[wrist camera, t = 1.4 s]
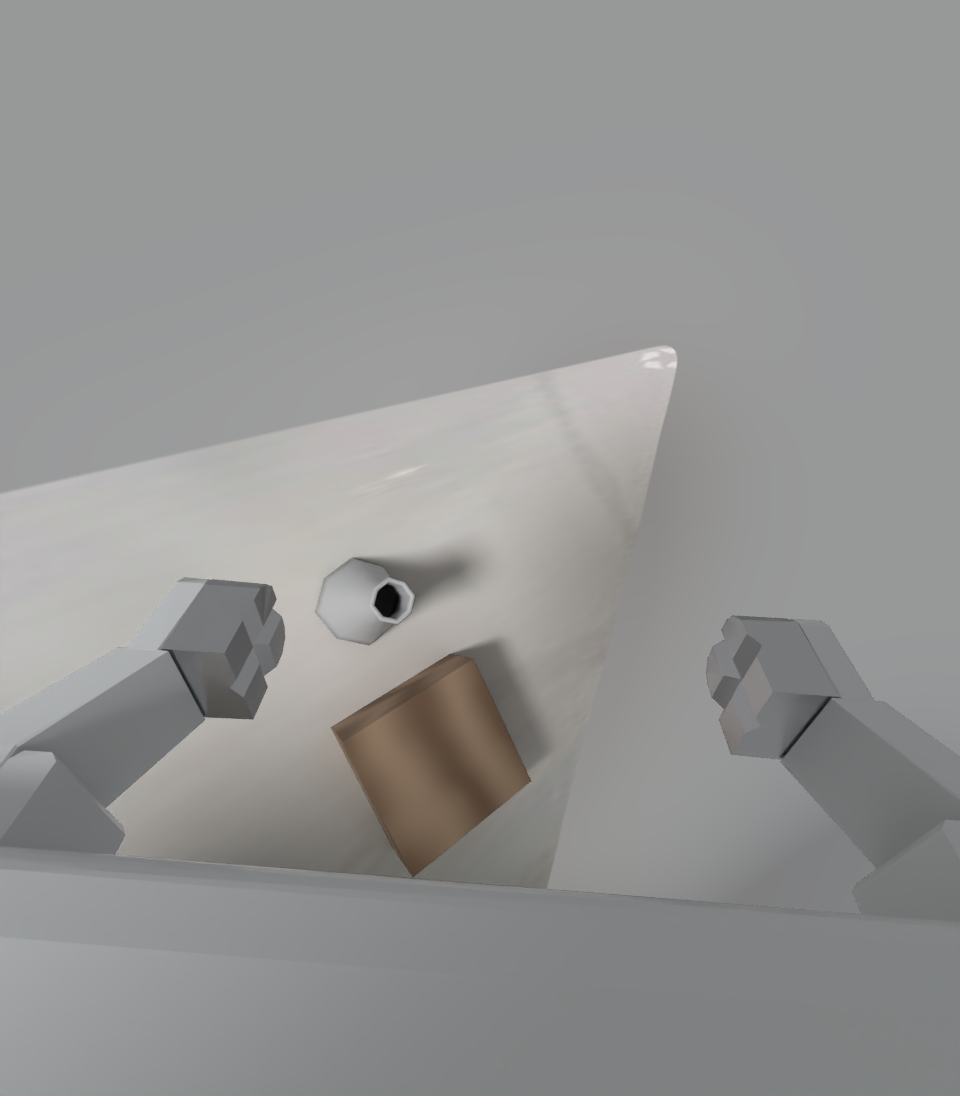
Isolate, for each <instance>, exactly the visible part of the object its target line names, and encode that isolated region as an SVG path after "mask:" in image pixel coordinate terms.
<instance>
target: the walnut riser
mask: <svg viewBox="0 0 960 1096" xmlns="http://www.w3.org/2000/svg"><path fill="white" fill-rule="evenodd" d="M331 729H332V731H333V732H334V734H335V736H336V738H337V740H338V742H339V744H340V746H341V748H342V750H343V752H344V754H345V756H346V758H347V760H348V762H349V764H350V765H351V767H352V769H353V771H354V773H355V775H356V777H357V779H358V781H359V783H360V785H361V787H362V789H363V791H364V793H365V795H366V797H367V798H368V800H369V802H370V804H371V806H372V808H373V810H374V812H375V814H376V816H377V818H378V820H379V822H380V824H381V826H382V828H383V830H384V832H385V833H386V835H387V837H388V839H389V841H390V843H391V845H392V847H393V849H394V851H395V852H396V854H397V855H398V856H399V858H400V859H401V861H402V862H403V864H404V865H405V867H406V868H407V869H408V871H409V872H410V874H411V875H412V877H414V876H415V875H416V874H418V873H419V872H420V871H421V870H423V869H424V868H425V867H426V866H427V865H429V864H430V863H431V862H432V861H434V860H435V859H436V858H437V857H439V856H440V855H441V854H442V853H443V852H445V851H446V850H447V849H448V848H450V847H451V846H452V845H453V844H454V843H456V842H457V841H458V840H459V839H461V838H462V837H463V836H464V835H466V834H467V833H468V832H469V831H470V830H472V829H473V828H474V827H475V826H477V825H478V824H479V823H480V822H481V821H483V820H484V819H485V818H486V817H488V816H489V815H490V814H491V813H493V812H494V811H495V810H496V809H497V808H499V807H500V806H501V805H502V804H504V803H505V802H506V801H507V800H508V799H510V798H511V797H512V796H513V795H515V794H516V793H517V792H518V791H520V790H521V789H522V788H523V787H524V786H526V785H527V784H528V783H529V782H531V780H530V777H529V775H528V773H527V771H526V769H525V767H524V765H523V763H522V761H521V758H520V756H519V754H518V752H517V750H516V748H515V746H514V744H513V742H512V739H511V737H510V735H509V733H508V731H507V729H506V727H505V725H504V723H503V720H502V718H501V716H500V714H499V712H498V710H497V708H496V706H495V704H494V701H493V699H492V697H491V695H490V693H489V691H488V689H487V687H486V685H485V682H484V680H483V678H482V676H481V674H480V672H479V670H478V668H477V666H476V663H475V661H474V659H471V658H467V657H462V656H458V655H453V654H449V655H448V656H446V657H444V658H443V659H441V660H440V661H438V662H436V663H435V664H433V665H431V666H430V667H428V668H427V669H425V670H423V671H422V672H420V673H418V674H417V675H415V676H414V677H412V678H410V679H409V680H407V681H406V682H404V683H402V684H401V685H399V686H397V687H396V688H394V689H393V690H391V691H389V692H388V693H386V694H384V695H383V696H381V697H380V698H378V699H376V700H375V701H373V702H372V703H370V704H368V705H367V706H365V707H363V708H362V709H360V710H359V711H357V712H355V713H354V714H352V715H350V716H349V717H347V718H346V719H344V720H342V721H341V722H339V723H338V724H336V725H334V726H333V727H331Z"/></svg>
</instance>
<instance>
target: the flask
mask: <svg viewBox="0 0 960 1096" xmlns="http://www.w3.org/2000/svg"><path fill="white" fill-rule="evenodd" d="M415 596H416V595H415V594H414V593H413V591H412V590H411V589H410V587H409V586H408V585H407V584H406V582H405V581H401V580H398V579H394V578H391V577H390V575H389V574H388V573H387V572H386V570H385V569H384V568H383V567H382V566H378V565H375V564H371V563H368V562H364V561H360V560H357V559H353V558H351V559H349V560H348V561H347V562H345V563H344V564H343V565H341V566H340V567H339V568H338V569H336V570H335V571H334V572H332V573H331V574H330V575H328V576H327V577H326V578H324V582H323V585H322V589H321V592H320V596H319V599H318V603H317V606H316V610H315V613H316V614H317V615H318V616H319V617H320V619H321V620H322V621H323V622H324V624H325V625H326V626H327V627H328V628H329V630H330V631H331V632H332V633H333V635H334V636H335V637H336V638H338V639H342V640H347V641H352V642H356V643H361V644H366V645H370V644H371V643H372V642H374V641H375V640H376V639H377V638H378V637H379V636H381V635H382V634H383V633H384V632H385V631H386V630H387V629H389V628H390V627H391V626H392V625H393V624H396V625H398V624H399V623H400V622H401V621H403V620H404V619H405V618H406V617H407V616H408V615H410V614H411V613H412V608H413V604H414V600H415Z"/></svg>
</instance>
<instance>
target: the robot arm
mask: <svg viewBox="0 0 960 1096" xmlns="http://www.w3.org/2000/svg"><path fill="white" fill-rule="evenodd" d="M276 600H277V599H276V596H275V593H274V591H273V588H272V586H269V585H267V584H258V583H247V582H236V581H225V580H214V579H212V580H209V579H198V578H187V577H185V578H183V579H181V580H179V581H177V582H176V583H175V584H174V586H173V587H172V588H171V590H170V591H169V592H168V594H167V595H166V596H165V598H164V599H163V600H162V602H161V603H160V604H159V606H158V607H157V608H156V610H155V611H154V612H153V614H152V615H151V616H150V618H149V619H148V620H147V622H146V623H145V624H144V626H143V627H142V628H141V630H140V631H139V632H138V634H137V635H136V637H135V638H134V639H133V641H132V642H131V643H130V645H129V646H128V647H127V648H122V647H118V648H116V649H115V650H113V651H111V652H109V653H108V654H106V655H104V656H102V657H101V658H99V659H97V660H95V661H94V662H92V663H90V664H88V665H87V666H85V667H83V668H81V669H80V670H78V671H76V672H74V673H73V674H71V675H69V676H67V677H66V678H64V679H62V680H60V681H59V682H57V683H55V684H53V685H52V686H50V687H48V688H46V689H45V690H43V691H41V692H39V693H38V694H36V695H34V696H32V697H31V698H29V699H27V700H25V701H24V702H22V703H20V704H19V705H17V706H15V707H13V708H12V709H10V710H8V711H6V712H5V713H3V714H1V715H0V1096H960V756H958V755H957V754H956V753H954V752H953V751H951V750H950V749H949V748H947V747H946V746H945V745H943V744H942V743H941V742H939V741H938V740H936V739H935V738H934V737H932V736H931V735H930V734H928V733H927V732H925V731H924V730H923V729H921V728H920V727H919V726H917V725H916V724H915V723H913V722H912V721H910V720H909V719H908V718H906V717H905V716H904V715H902V714H901V713H899V712H898V711H897V710H895V709H894V708H893V707H891V706H890V705H888V704H887V703H886V702H881V701H875V700H874V698H873V697H872V696H871V693H870V692H869V690H868V688H867V687H866V686H865V684H864V682H863V680H862V679H861V677H860V676H859V674H858V672H857V671H856V669H855V667H854V666H853V664H852V663H851V661H850V659H849V658H848V656H847V654H846V653H845V651H844V650H843V648H842V646H841V645H840V643H839V642H838V640H837V638H836V637H835V635H834V634H833V632H832V630H831V629H830V627H829V626H828V625H827V624H825V623H824V622H822V621H816V620H799V619H790V620H789V619H783V618H766V617H749V616H731V617H730V618H729V619H727V620H726V622H725V624H724V626H723V628H722V633H723V635H724V638H725V640H723V641H721V642H720V643H718V644H716V645H715V646H713V648H712V650H711V652H710V654H709V657H708V660H707V671H706V676H707V683H708V687H709V690H710V693H711V696H712V698H713V699H714V700H715V701H716V702H717V703H718V704H719V705H720V706H721V707H722V708H724V711H723V713H722V715H721V717H720V719H719V721H720V724H721V727H722V729H723V733H724V736H725V739H726V741H727V744H728V747H729V750H730V753H731V755H741V756H751V757H761V758H771V759H781V763H782V764H783V765H784V766H785V768H786V769H787V770H788V771H789V772H790V773H791V774H792V775H793V776H794V777H795V779H796V780H797V781H798V782H799V783H800V784H801V785H802V786H803V787H804V789H805V790H806V791H807V792H808V793H809V794H810V795H811V796H812V797H813V799H814V800H815V801H816V802H817V803H818V804H819V805H820V806H821V807H822V808H823V810H824V811H825V812H826V813H827V814H828V815H829V816H830V817H831V818H832V820H833V821H834V822H835V823H836V824H837V825H838V826H839V827H840V828H841V830H842V831H843V832H844V833H845V834H846V835H847V836H848V837H849V838H850V839H851V841H852V842H853V843H854V844H855V845H856V846H857V847H858V848H859V850H861V852H862V853H863V854H864V855H865V856H866V857H867V858H868V860H869V861H870V862H871V863H872V864H873V865H874V866H875V867H876V868H877V869H875V870H874V871H873V872H871V873H870V874H869V875H867V876H866V877H864V878H863V879H861V880H860V881H859V882H857V883H856V885H855V887H854V888H853V890H852V893H853V895H854V898H855V900H856V903H857V905H858V908H859V910H860V912H861V914H855V913H842V912H829V911H816V910H804V909H791V908H778V907H767V906H754V905H741V904H729V903H716V902H703V901H691V900H678V899H665V898H653V897H641V896H628V895H615V894H602V893H589V892H578V891H565V890H552V889H540V888H527V887H515V886H502V885H489V884H477V883H464V882H452V881H439V880H426V879H414V878H401V877H389V876H376V875H363V874H351V873H338V872H325V871H313V870H300V869H287V868H275V867H262V866H249V865H237V864H224V863H211V862H199V861H186V860H173V859H161V858H148V857H135V856H122V855H115V853H116V852H117V850H118V848H119V846H120V844H121V842H122V840H123V838H124V837H125V832H124V828H123V826H122V825H121V824H120V823H119V822H118V821H117V820H116V819H115V817H114V816H113V815H112V814H111V813H110V812H109V811H108V810H107V809H106V807H107V806H108V805H110V804H111V803H112V802H113V801H114V800H115V799H116V798H117V797H119V796H120V795H121V794H122V793H123V792H124V791H125V790H126V789H128V788H129V787H130V786H131V785H132V784H133V783H134V782H136V781H137V780H138V779H139V778H140V777H141V776H142V775H143V774H145V773H146V772H147V771H148V770H149V769H150V768H151V767H152V766H154V765H155V764H156V763H157V762H158V761H159V760H160V759H162V758H163V757H164V756H165V755H166V754H167V753H168V752H169V751H171V750H172V749H173V748H174V747H175V746H176V745H177V744H178V743H180V742H181V741H182V740H183V739H184V738H185V737H186V736H188V735H189V734H190V733H191V732H192V731H193V730H194V729H195V728H197V727H198V726H199V725H200V724H201V723H202V722H203V721H204V720H205V718H204V717H212V718H233V719H254V716H255V714H256V712H257V710H258V707H259V705H260V703H261V701H262V699H263V696H264V694H265V692H266V690H267V684H266V681H265V678H264V675H266V674H267V673H269V672H270V671H271V670H273V669H274V668H275V667H277V665H278V662H279V660H280V657H281V655H282V652H283V646H284V641H285V627H284V623H283V619H282V616H281V615H279V614H278V613H277V612H276V611H275V610H273V609H272V608H273V606H274V604H275V602H276Z"/></svg>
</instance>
